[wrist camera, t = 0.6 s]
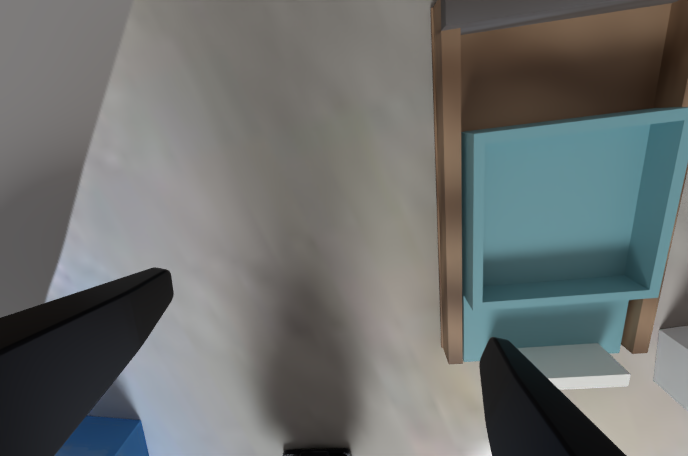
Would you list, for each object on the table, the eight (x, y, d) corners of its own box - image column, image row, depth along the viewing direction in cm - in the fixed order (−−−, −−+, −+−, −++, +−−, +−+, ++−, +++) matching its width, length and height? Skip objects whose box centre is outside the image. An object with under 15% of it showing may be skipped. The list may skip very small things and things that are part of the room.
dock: (626, 334, 24) (661, 363, 21) (441, 346, 26) (451, 374, 23) (696, -34, 17) (763, -65, 14) (430, 8, 18) (443, -12, 15)
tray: (611, 345, 24) (654, 385, 21) (460, 354, 25) (477, 393, 22) (652, 108, 19) (720, 105, 15) (459, 132, 20) (480, 134, 16)
